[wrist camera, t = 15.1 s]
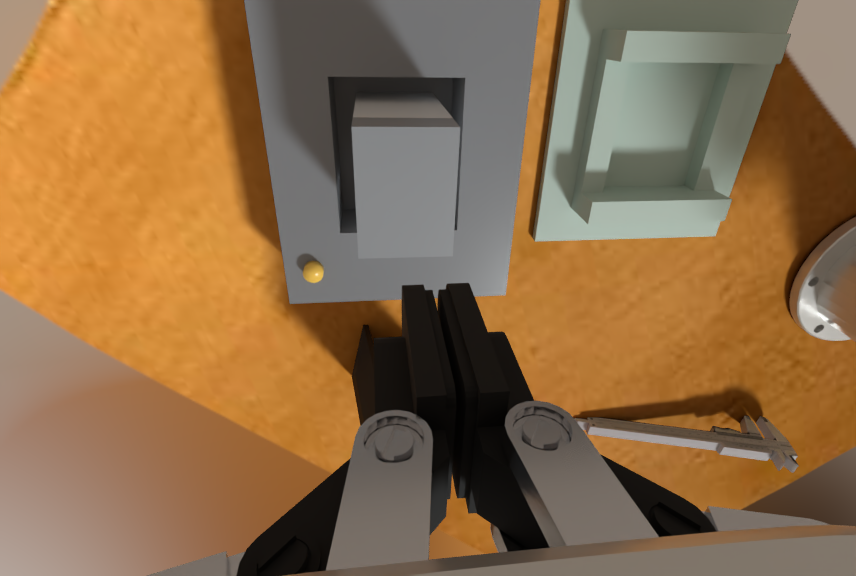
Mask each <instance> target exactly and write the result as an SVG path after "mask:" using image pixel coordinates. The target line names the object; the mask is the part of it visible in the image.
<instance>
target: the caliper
mask: <svg viewBox="0 0 856 576" xmlns="http://www.w3.org/2000/svg"><path fill="white" fill-rule="evenodd" d="M574 419H575V420H576V421H577V423H578V424H579V426H580V427H581V428H582V430H586V432H587V434H591V435H598V436H606V437H614V438H621V439H629V440H637V441H645V442H652V443H660V444H668V445H676V446H684V447H692V448H700V449H708V450H716V451H717V452H718V453H719V454H721V455H728V456H735V457H743V458H750V459H757V460H764V461H767V460H768V459H769V458H770V459H771V460H773V462H774V464H775V466H776V468H777V469H778V470H779V471H780V470H781V468H782V467H783V465H784V466H785V467H786V468H787V469H788V470H789V471H791V472H794V471H795V470H796V468H797V467H798V466H799V465H798V464H797V463H796V461H795V459H796V458H797V454H796V452H795V451H794V449H793V448H792V446H791V445H790V443H789V442H788V440H787V439H786V438H785V437H784V436H783V435H782V434H781V433H780V432H779V431H778V430H777V428H776V427H775V426H774V425H773V424H772V423H771V422H770V421H769V420H768V419H766V418H764V417H762V416H760V417H759V419H758V420H757V422H756V424H757V426H758V427H759V429H760V430H761V432H762V434H763V435H764V437H765V438H766V439H764V438H762V436H761V434H760V432H759V431H758V429H757V427H756V426H755V424H754V423H753V421H751V419H750V418H749V416H744V417H743V419H742V421H741V422H740V426H741V431H742V433H740V432H739V431H736V430H733V429H730V428H719V427H716V426H712V428H711V430H710V431H703V430H695V429H687V428H679V427H671V426H663V425H655V424H647V423H640V422H632V421H625V420H617V419H609V418H602V417H595V418H587V419H581V418H574Z"/></svg>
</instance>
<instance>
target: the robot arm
mask: <svg viewBox="0 0 856 576" xmlns="http://www.w3.org/2000/svg"><path fill="white" fill-rule="evenodd" d="M789 305H790V311H791V315H792V317H793V319H794V321H795V322H796V323H797V324H798V325H799V326H800V327H801V328H802V329H803V330H804V331H806V332H807V333H809V334H810V335H812V336H814V337H816V338H819V339H822V340H829V341H840V340H849V339H852V340H854V341H855V342H856V217H854V218H852V219H850V220H849V221H847V222H846V223H844V224H843V225H841V226H840V227H838V228H837V229H836V230H834V231H833V232H832V233H831V234H830V235H828V236H827V237H826V238H825V239H824V240H823V241H822V242H821V243H820V244H819V245H818V246H817V247H816V248H815V249H814V250H813V251H812V252H811V254H810V255H809V256H808V258H807V259H806V260H805V262H804V263H803V265H802V266H801V268H800V270H799V272H798V274H797V276H796V278H795V280H794V283H793V286H792V289H791V292H790V302H789ZM374 386H375V415H373V416H372V417H370V418H368V419H367V420H366V421H365V422H364V423H363V424H362V425H361V426H360V427H359V429H358V432H357V434H356V437H355V441H354V446H353V450H352V455H351V458H350V459H349V460H348V461H347V462H346V463H344V464H343V465H342V466H341V467H340V468H339V469H337V470H336V471H335V472H334V473H333V474H332V475H330V476H329V477H328V478H327V479H326V480H325V481H323V482H322V483H321V484H320V485H319V486H318V487H316V488H315V489H314V490H313V491H312V492H310V493H309V494H308V495H307V496H306V497H305V498H303V499H302V500H301V501H300V502H299V503H298V504H296V505H295V506H294V507H293V508H292V509H290V510H289V511H288V512H287V513H286V514H285V515H284V516H282V517H281V518H280V519H279V520H278V521H276V522H275V523H274V524H273V525H272V526H271V527H269V528H268V529H267V530H266V531H265V532H263V533H262V534H261V535H260V536H259V537H258V538H257V539H256V540H255V541H254V542H253V543H252V544H251V545H250V546H249V547H248V548H247V550H246V552H243V553H240V554H237V555H233V556H230V557H228V555H227V552H222V553H219V554H216V555H212V556H209V557H206V558H203V559H200V560H197V561H193V562H190V563H187V564H183V565H180V566H177V567H174V568H170V569H167V570H164V571H161V572H157V573H154V574H151V575H148V576H856V526H841V525H840V526H839V525H828V524H826V523H824V522H820V521H816V520H813V519H807V518H799V517H791V516H783V515H775V514H767V513H759V512H751V511H743V510H735V509H727V508H719V507H711V506H708V507H707V509H706V511H705V512H703V511H700V510H699V509H698V508H697V507H696V506H695V505H693V504H691V503H690V502H688V501H687V500H685V499H684V498H682V497H680V496H678V495H676V494H674V493H672V492H671V491H669V490H667V489H665V488H663V487H661V486H659V485H657V484H655V483H654V482H652V481H650V480H648V479H646V478H644V477H642V476H640V475H638V474H636V473H635V472H633V471H631V470H629V469H627V468H625V467H623V466H621V465H619V464H617V463H616V462H614V461H612V460H610V459H608V458H606V457H604V456H602V455H600V454H599V452H598V451H597V449H596V448H595V447H594V445H593V444H592V442H591V441H590V440H589V438H588V437H587V435H586V434H585V433H584V431H583V430H582V428H581V427H580V426H579V424H578V423H577V421H576V420H575V419H574V418H573V417H572V416H571V415H570V414H569V413H568V412H566V411H565V410H563V409H562V408H560V407H558V406H556V405H553V404H551V403H547V402H541V401H534V399H533V397H532V395H531V392H530V390H529V388H528V385H527V383H526V381H525V378H524V376H523V374H522V371H521V369H520V367H519V364H518V362H517V360H516V357H515V355H514V353H513V350H512V348H511V346H510V343H509V341H508V339H507V337H506V335H505V333H504V332H487V329H486V326H485V324H484V321H483V318H482V316H481V313H480V310H479V308H478V305H477V302H476V300H475V297H474V295H473V292H472V289H471V287H470V284H469V283H448V284H447V285H446V289H440V290H439V291H438V310H437V307H436V303H435V299H434V294H433V290H425V288H424V285H423V284H422V285H402V337H385V338H374ZM452 475H453V480H454V486H455V491H456V496H457V498H466V503H467V508H468V513H477V514H478V515H480V516H481V517H483V518H484V519H486V520H487V521H489V522H490V523H491V527H490V528H491V533H492V537H493V540H494V542H495V545H496V547H497V550H498V552H499V553H491V554H481V555H471V556H463V557H452V558H442V559H432V560H429V538H430V534H431V533H432V532H433V531H434V530H435V529H436V527H437V526H438V525H439V524H440V523H441V522H442V520H443V519H444V518H445V517H446V507H447V499H450V494H451V479H452Z"/></svg>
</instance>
